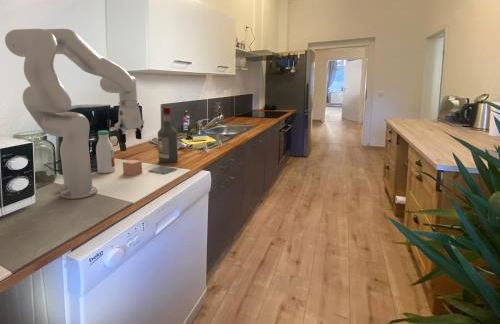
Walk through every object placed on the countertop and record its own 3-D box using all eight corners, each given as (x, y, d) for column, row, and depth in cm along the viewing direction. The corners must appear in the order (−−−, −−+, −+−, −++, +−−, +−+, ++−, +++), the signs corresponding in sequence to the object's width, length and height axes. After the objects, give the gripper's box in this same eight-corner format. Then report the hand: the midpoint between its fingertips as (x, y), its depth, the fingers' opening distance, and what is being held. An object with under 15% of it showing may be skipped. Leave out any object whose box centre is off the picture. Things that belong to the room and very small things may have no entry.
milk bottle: (108, 174, 146) (105, 132, 141) (94, 172, 148) (90, 131, 143) (118, 170, 154) (115, 130, 149) (104, 168, 155) (101, 129, 150)
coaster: (164, 174, 149) (164, 173, 149) (148, 171, 153) (147, 170, 153) (176, 169, 158) (176, 168, 158) (161, 167, 162) (161, 165, 162)
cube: (132, 176, 145) (132, 163, 144) (123, 174, 148) (122, 162, 146) (142, 172, 151) (141, 161, 149) (132, 171, 153) (132, 159, 152)
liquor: (170, 158, 181) (169, 106, 173) (180, 161, 175) (178, 108, 168) (156, 160, 174) (154, 107, 167) (166, 164, 168) (164, 108, 161)
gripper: (119, 105, 132) (122, 144, 136) (148, 103, 147) (150, 138, 152) (107, 104, 135) (110, 142, 139) (136, 102, 150) (138, 137, 155)
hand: (131, 140), depth 145 cm, fingers open, 9 cm apart
